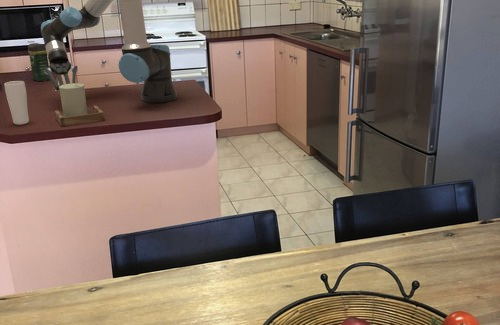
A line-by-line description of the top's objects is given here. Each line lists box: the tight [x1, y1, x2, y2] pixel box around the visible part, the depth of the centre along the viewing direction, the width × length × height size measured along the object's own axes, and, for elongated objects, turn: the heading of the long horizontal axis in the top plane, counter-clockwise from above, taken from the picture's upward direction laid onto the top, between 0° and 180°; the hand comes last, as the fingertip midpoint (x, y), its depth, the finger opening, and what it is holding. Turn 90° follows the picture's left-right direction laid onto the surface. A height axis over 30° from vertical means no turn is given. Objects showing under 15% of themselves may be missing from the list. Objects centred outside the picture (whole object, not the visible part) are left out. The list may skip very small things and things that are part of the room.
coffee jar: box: [27, 42, 51, 82], centre depth 264 cm, size 10×8×19 cm
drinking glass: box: [3, 80, 30, 126], centre depth 188 cm, size 7×7×15 cm
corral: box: [54, 104, 106, 128], centre depth 194 cm, size 13×15×3 cm
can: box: [59, 82, 89, 117], centre depth 198 cm, size 9×9×12 cm
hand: (70, 103), depth 203 cm, fingers closed
